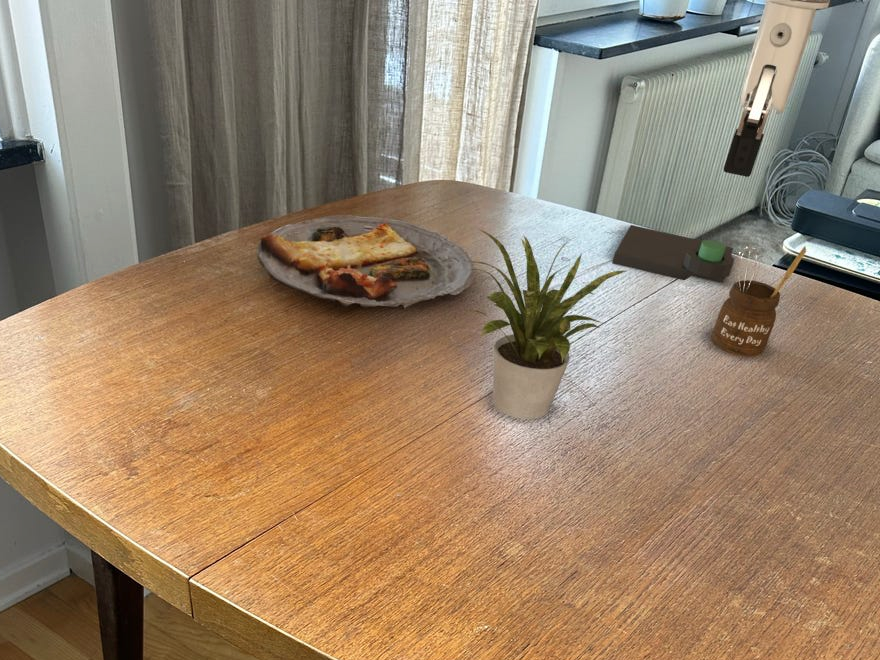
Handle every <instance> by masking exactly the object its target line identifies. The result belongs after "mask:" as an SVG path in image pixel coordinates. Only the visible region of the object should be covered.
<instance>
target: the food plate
mask: <svg viewBox="0 0 880 660" xmlns="http://www.w3.org/2000/svg"><path fill="white" fill-rule="evenodd" d="M259 240H260V241H259V244H258V245H257V255H256V259H257V260H258V261H259V264H260V265H261V266H262V268H263V269H264V271H265V272H266V273H267V275H269V277H270V278H271V279H272V280H274V281H275V282H277V283H279V284H280V285H282V286H284V287H286V288H289V289H292V290H295V291H299V292H302V293H303V294H306V295H308V296H309V297H311V298H313V299H315V300H323V301H325V302H331V303H334V307H336V306H337V305H338V304H337V301H338V302H339V305H342V306H343V307H344V306H345V307H348V306H351V305H352V304H359V305H360V308H361V307H362V308H373V307H377V306H380V307H395V308H397V307H399V306H400V305H402V306H403V309H406V308H408V307H410V306H412V305H415V304H417V303H420V302H422V301H429V300H431V299H432V300H434V299H435V298H436V297H439V296H441V297H443V296H445V295H448V294H449V295H452V296H457V295H458V294H460V293H463V291H465V290H467V288H468V287H470V286H471V285H472V283H473V280H474V279H473V278H474V272H473V271H474V270H473V269H474V263H473V262H471V261H473V260H472V259H471V257H470V256H469V254H468V251H465V248H463V247H462V246H461V245H459V244H458V243H456V242H455V241H453V240H451V239H449V238H447V236H445V235H443V234H442V233H440V232H437V231H434V230H430V229H428V228H425V227H422V226H421V225H418V224H413V223H410V222H408V221H407V222H406V221H403V220H398V219H397V220H396V219H393V218H384V217H379V216H378V217H364V216H355V215H354V214H353V215H352V214H338V215H328V216H321V217H317V218H313V219H308V220H302V221H299V222H294V223H289V224H287V225H283V226H281V227H279V228H276V229H275V230H273V231H271V232H270V233H269V234H266V235H265V236H261V237H260V238H259Z"/></svg>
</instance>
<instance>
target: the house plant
mask: <svg viewBox="0 0 880 660" xmlns="http://www.w3.org/2000/svg"><path fill="white" fill-rule="evenodd" d="M476 229H477V230H478V231H480V232H482V233H483V234H485V235H487V236H488V237H489V238H490V239H491V240H492V241H493V242H494V243H495V245H496V246H497V247H498V249H499V250H500V252H501V254H502V256H503V260H504V263H505V265H506V268H507V271H508V274H509V277H510V278H509V277H508V276H507V274H505V273H504V272H503V271H502V270H501V269H499V268H498V267H495V266H494V265H491V264H489V263H486V262H483V261H476V260H475V261H474V260H472V261H471V262H473V263H472V264H474V263H475V264H482V265H486V266H489V267H491V268H494V269H495V270H496V271H497V272H499V273H500V275H501V276H502V277H503V279H504V280H505V282H506V283H507V285H508V287H509V289H510V291H511V293H512V295H513V298H514V299H515V302H516V305H517V308H518V309H517V308H516V306H515V304H514V301H513V300H512V299H511V297H510V296H509V295H508V294H507V293H506V292H505V290H504V289H503V286H502V284H501V283H500V282H499V280H498V279H497V278H496V277H495V276H494V275H493V274H491V273H490V272H489V271H486V270H483V269H479V268H473V271H481V272H483V273H486V274H488V275H489V276H490V277H491V278H492V279H493V280H494V281H495V283H496V284H497V286H498V288H499V289H500V291H495V292H493V293H490V294H488V295H487V296H486V298H487V299H488V300H489V301H491V302H492V303H494V306H495V307H498V308H500V309H501V310H502V311H503V312H504V314H505V316H506V318H507V319H508V321H506V320H503V319H494V320H493V319H491V318H490V321H488V322H487V323H486V324H485V326H484V327H483V329H482V331H481V334H480V336H479V338H478V339H481V337H483V336H484V335H487V334H490V333H493V332H495V331H498V330H500V331H501V332H502V334H503V335H504V336H502V337H499V338H498V339H497V340H496V341H494V344H493V346H492V347H493V348H492V405H494V407H495V409H497V410H498V411H499V412H501V413H502V414H504V415H507V416H509V417H512V418H516V419H521V420H522V419H523V420H535V419H540V418H542V417H544V416H546V415H547V414H548V413H549V410H550V409H551V406H552V404H553V401H554V398H555V396H556V394H557V392H558V389H559V386H560V384H561V382H562V379H563V377H564V375H565V372H566V370H567V367H568V366H569V362H570V359H571V357H570V354H569V352H570V348H571V342H570V340H569V339H568V338H569V337H571V336H573V335H574V334H576V333H579V332H581V331H583V330H587V329H591V328H597V329H601V330H602V331H603V329H602V328H601V327H600V326H598V325H597V324H595V323H589V322H587V323H582V324H580V325H577V326H576V327H574V328H572V329H571V323H572V322H574V321H575V322H576V321H593V322H596V323H600V324H601V323H603V322H602V321H601V320H597V319H595V318H593V317H590V316H586V315H585V316H584V315H579V314H569V315H566V314H567V313H568V312H569V311H570V310H572V308H573V307H574V306H575V305H576V304H578V303H579V302H580V301H581V300H582V299H583V298H586V296H588V295H590V294H591V295H594V293H593V292H594V291H596V289H597V288H599V287H600V286H601V285H602V284H603V283H604V282H606V281H607V280H609V279H611V278H613V277H615V276H619V275H620V274H623V273H625V272H627V270H616V271H615V270H614V271H609V272H608V273H605V274H603V275H601V276H599V277H596V278H595V279H594V280H592V281H591V282H589V283H588V284H587V285H585V286H584V287H583V288H581V289H580V290H578V291H577V292H576V293H575V294H574V295H572V296H570V297H567V298H566V299H564V300H563V298H564V296H565V294H566V293H567V291H568V290H569V288H570V286H571V285H572V283H573V281H574V279H575V277H576V274H577V273H578V269H579V266H580V264H581V259H582V255H583V253H582V252H581V253H580V255H579V256H578V257H577V259H576V260H575V261H574V264H573V265H572V267H571V268H570V269H569V271H568V272H567V274H566V276H565V278H564V280H563V283H562V284H561V286H560V288H559V289H554V288H553V289H550V290H549V288H550V285H551V284H552V281H553V280H554V278H555V275H556V274H557V273H558V272H561V270H563V269H565V268H567V267H569V266H570V265H571V263H569V264H567V265H566V266H564V267H562V268H559V269H558V270H557V271H554V273H552V274H551V275H550V273H551V271H552V268H553V266H554V264H555V262H556V259H557V257H558V256H559V254H560V253H561V251H562V250H563V248H565V246H566V245H567V243H569V240H567V241H566V242H565V243H564V244H563V245H562V246H561V247H560V248H559V249H558V251H557V253H556V255H555V256H554V258H553V260H552V263H551V265H550V268H549V270H548V273H547V276H546V278H545V281H544V284H543V286H542V288H541V279H540V278H541V277H540V272H539V267H538V264H537V261H536V258H535V256H534V252H533V248H532V246H531V244H530V241H529V239H528V238H527V237H526V236H525V235H523V238H524V240H523V238H520V239H521V244H522V246H523V248H524V253H525V258H526V274H525V275H526V288H527V289H523V290H522V291H521V288H520V285H519V282H518V279H517V276H516V272H515V269H514V266H513V263H512V261H511V258H510V255H509V253H508V251H507V250H506V247H505V246H504V244H503V243H502V242H501V241H500V240H498V239H497V238H496V237H494V236H493V235H492V234H491V233H488V232H486V231H484V230H482V229H480V228H478V227H477V228H476ZM562 300H563V301H562ZM467 312H472V313H478V314H481V315H483V316H485V317H488V315H487V313H485V312H482V311H480V310H476V309H470V310H469V309H467ZM508 326H510V328H511V331H512V334H508V335H507V334H506V333H505V332H504V331H503V330H502V329H503V328H506V327H508Z"/></svg>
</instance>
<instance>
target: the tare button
mask: <svg viewBox="0 0 880 660" xmlns="http://www.w3.org/2000/svg"><path fill="white" fill-rule="evenodd" d="M702 241H703V242H702V243H701V247H700V250H699V253H698V257H700V258H702V259H704V260H708V261H712V262H721V261H722V258H723V255H724V252H725V249H726V246H727V245H725V244H724V243H722V242H719V241H716V240H711V239H705V240H702Z"/></svg>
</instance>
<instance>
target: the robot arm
mask: <svg viewBox="0 0 880 660" xmlns="http://www.w3.org/2000/svg"><path fill="white" fill-rule="evenodd" d="M830 1H831V0H765V5H764V8H763V11H762V15H761V18H760V21H759V25H758V28H757V32H756V35H755V39H754V42H753V45H752V49H751V53H750V57H749V60H748V64H747V68H746V71H745V76H744V81H743V86H742V91H741V95H740V101H739V104H740V106H742V107H743V112H742V115H741V118H740V122H739V124H738V127H737V128H736V129H735V132H734V134H733V136H732V140H731V143H730V146H729V150H728V153H727V155H726V160H725V163H724V166H723V172H724V173H726V174H730V175H736V176H741V177H747V178H749V177H750V176H751V175H752V173H753V170H754V166H755V163H756V161H757V158H758V154H759V151H760V148H761V145H762V143H763V139H764V135H765V133H763V132H764V130H765V126H766V123H767V120H768V117H769V115H770V113H771V109H772V110H776V115H780V114H782V113H783V112H784V111H785V108H786V105H787V102H788V100H789V97H790V93H791V90H792V88H793V84H794V82H795V78H796V77H797V72H798V69H799V67H800V64H801V60H802V58H803V55H804V53H805V49H806V46H807V43H808V40H809V36H810V34H811V30H812V28H813V27H812V26H813V22H814V20H815V16H816V12H817V10H823V9H828V8H829V6H830V3H831V2H830Z"/></svg>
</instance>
